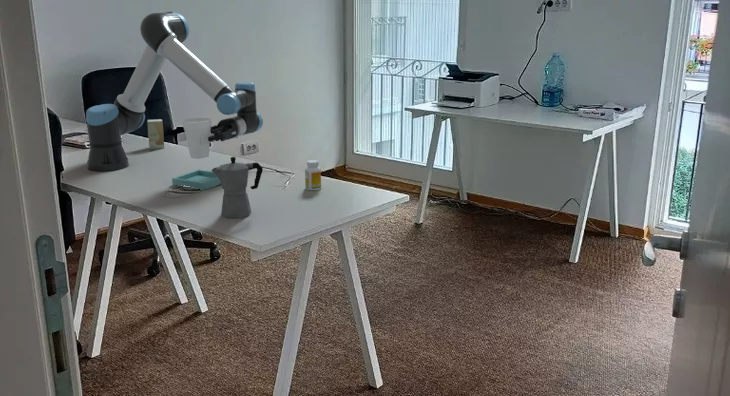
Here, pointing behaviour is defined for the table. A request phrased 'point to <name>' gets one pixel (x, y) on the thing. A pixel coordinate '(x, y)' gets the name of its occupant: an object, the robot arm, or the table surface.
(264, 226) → the table surface
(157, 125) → the skincare box
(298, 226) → the table surface
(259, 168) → the coffeepot
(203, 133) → the foam cup
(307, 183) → the supplement bottle
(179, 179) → the tray
